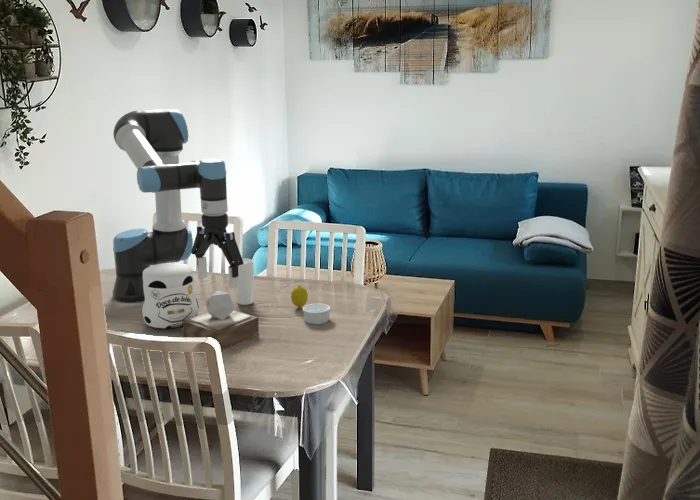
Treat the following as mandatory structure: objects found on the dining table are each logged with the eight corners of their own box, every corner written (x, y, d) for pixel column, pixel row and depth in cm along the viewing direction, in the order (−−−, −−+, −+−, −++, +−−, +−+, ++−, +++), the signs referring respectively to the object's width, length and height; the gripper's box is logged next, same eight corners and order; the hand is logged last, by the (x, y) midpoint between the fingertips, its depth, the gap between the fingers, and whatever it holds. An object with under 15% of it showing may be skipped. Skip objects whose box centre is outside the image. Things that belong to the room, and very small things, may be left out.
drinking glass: (251, 307, 244) (249, 264, 240) (232, 305, 245) (230, 263, 241) (257, 300, 250) (256, 258, 246) (239, 299, 251) (237, 257, 247)
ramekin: (299, 324, 229) (298, 311, 228) (308, 314, 237) (307, 302, 236) (325, 326, 227) (325, 313, 225) (333, 316, 235) (333, 304, 234)
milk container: (174, 338, 218) (170, 281, 213) (131, 328, 226) (126, 273, 221) (210, 319, 232) (207, 266, 228) (169, 311, 240) (165, 259, 236)
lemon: (310, 306, 244) (310, 284, 242) (303, 311, 239) (302, 288, 237) (296, 304, 246) (295, 281, 244) (288, 309, 241) (287, 286, 239)
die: (213, 313, 223) (197, 294, 217) (237, 298, 223) (221, 279, 217) (218, 330, 217) (202, 311, 211) (243, 315, 217) (227, 296, 210)
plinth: (183, 337, 218) (182, 319, 216) (223, 322, 230) (222, 304, 228) (218, 350, 208) (217, 331, 207) (258, 334, 220) (258, 315, 219)
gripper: (176, 209, 214) (181, 277, 220) (234, 222, 199) (237, 294, 205) (196, 204, 219) (200, 271, 225) (254, 217, 204) (256, 287, 210)
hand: (218, 282), depth 215 cm, fingers open, 13 cm apart
